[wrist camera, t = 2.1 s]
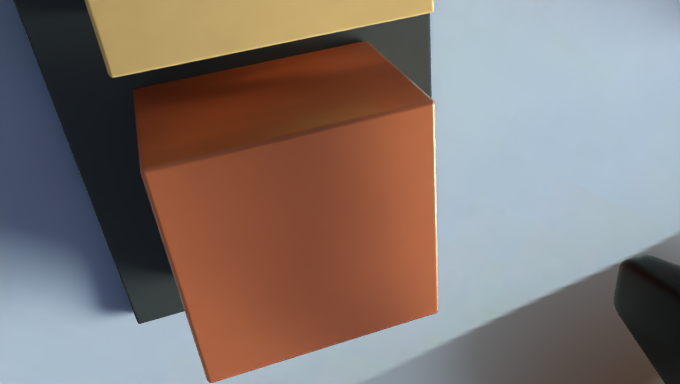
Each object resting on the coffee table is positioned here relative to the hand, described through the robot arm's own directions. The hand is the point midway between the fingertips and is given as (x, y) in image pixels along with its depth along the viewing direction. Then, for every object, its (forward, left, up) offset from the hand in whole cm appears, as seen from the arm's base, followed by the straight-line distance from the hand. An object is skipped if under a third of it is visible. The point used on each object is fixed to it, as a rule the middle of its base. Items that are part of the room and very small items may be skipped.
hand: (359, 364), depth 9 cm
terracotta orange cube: (0, 0, -6) cm, 6 cm away
